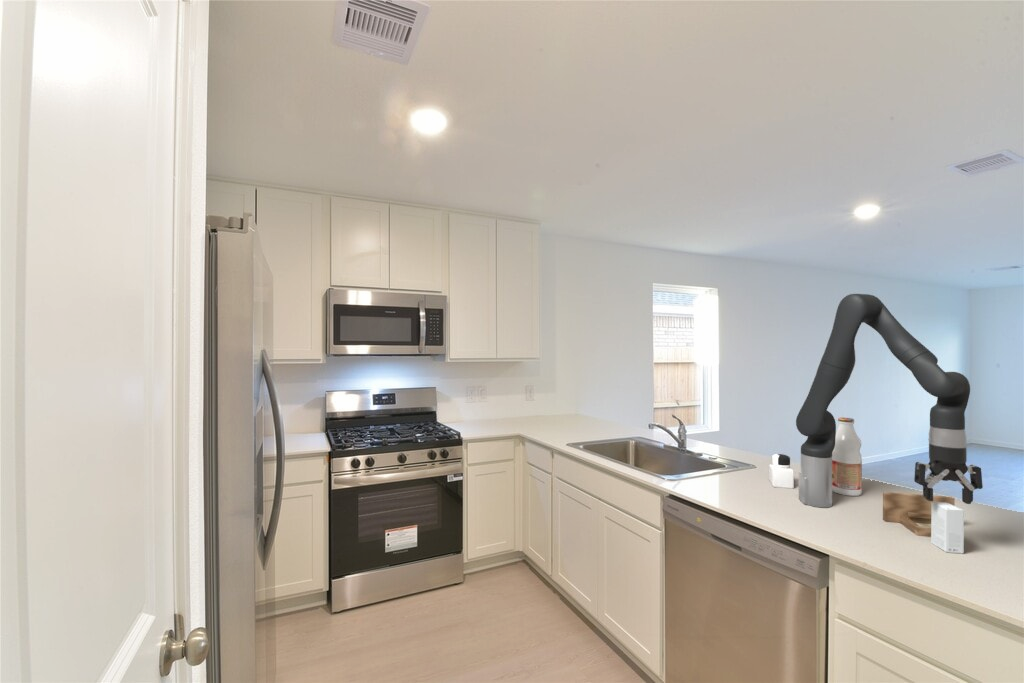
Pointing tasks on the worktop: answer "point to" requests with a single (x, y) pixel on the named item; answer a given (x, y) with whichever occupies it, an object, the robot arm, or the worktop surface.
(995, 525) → the worktop surface
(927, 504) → the wooden frame stand
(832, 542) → the worktop surface
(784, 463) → the medicine bottle
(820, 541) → the worktop surface
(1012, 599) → the worktop surface
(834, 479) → the fruit juice
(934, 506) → the skincare box
